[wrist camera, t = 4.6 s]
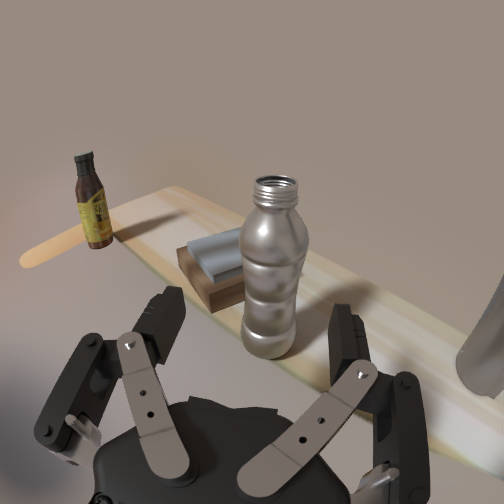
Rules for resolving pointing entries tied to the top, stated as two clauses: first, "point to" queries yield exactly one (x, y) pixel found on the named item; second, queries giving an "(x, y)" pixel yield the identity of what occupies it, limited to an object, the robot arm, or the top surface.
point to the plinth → (207, 288)
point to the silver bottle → (272, 266)
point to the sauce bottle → (92, 203)
